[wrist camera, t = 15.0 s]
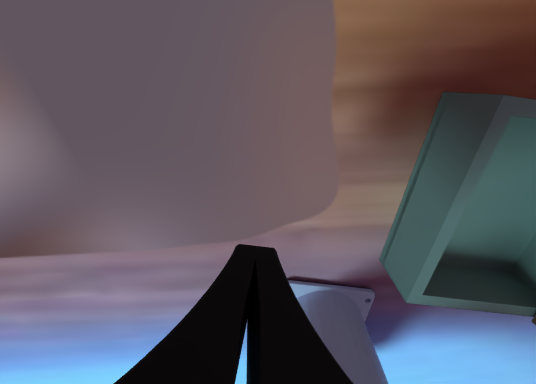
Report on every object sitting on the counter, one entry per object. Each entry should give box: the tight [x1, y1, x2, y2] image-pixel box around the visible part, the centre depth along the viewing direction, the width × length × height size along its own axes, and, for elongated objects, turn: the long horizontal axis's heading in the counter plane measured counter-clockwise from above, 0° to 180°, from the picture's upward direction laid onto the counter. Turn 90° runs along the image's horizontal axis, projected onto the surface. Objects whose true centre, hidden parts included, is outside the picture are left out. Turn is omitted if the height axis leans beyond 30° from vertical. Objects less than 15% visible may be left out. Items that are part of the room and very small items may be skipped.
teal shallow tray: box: [380, 92, 536, 317], centre depth 17 cm, size 13×11×4 cm
